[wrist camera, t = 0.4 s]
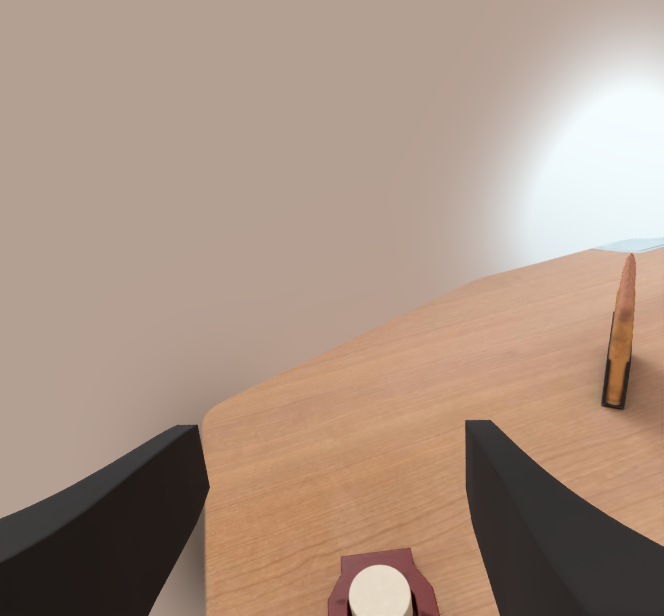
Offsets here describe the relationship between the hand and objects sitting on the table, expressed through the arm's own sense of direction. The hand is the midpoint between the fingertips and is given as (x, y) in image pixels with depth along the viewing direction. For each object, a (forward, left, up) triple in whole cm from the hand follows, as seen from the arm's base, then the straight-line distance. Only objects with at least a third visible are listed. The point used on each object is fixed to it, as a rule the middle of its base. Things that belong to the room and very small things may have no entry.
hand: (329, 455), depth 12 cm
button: (+8, 0, -20) cm, 21 cm away
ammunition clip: (+30, -27, -22) cm, 46 cm away
